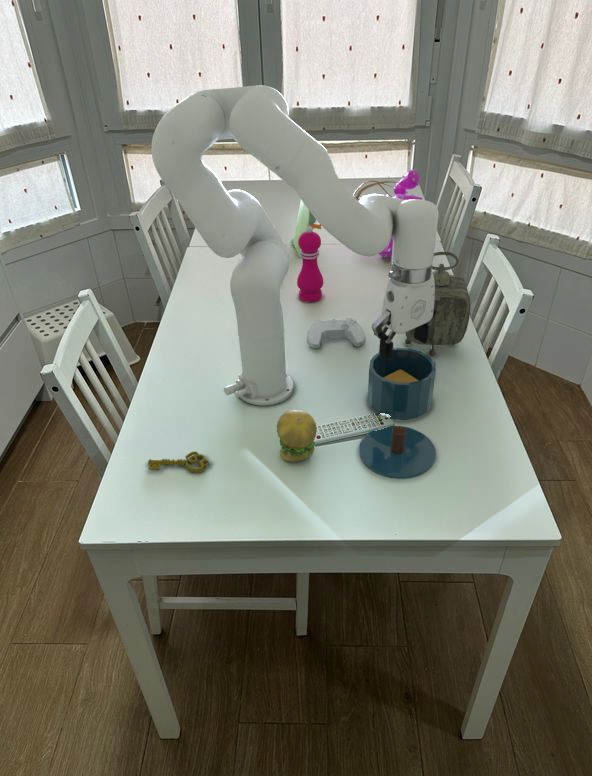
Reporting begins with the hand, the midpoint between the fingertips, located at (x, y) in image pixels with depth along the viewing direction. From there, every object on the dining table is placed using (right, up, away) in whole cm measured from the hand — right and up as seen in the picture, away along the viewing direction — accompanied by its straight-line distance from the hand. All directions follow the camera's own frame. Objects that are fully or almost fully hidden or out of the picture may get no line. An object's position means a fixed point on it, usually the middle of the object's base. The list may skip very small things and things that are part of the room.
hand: (403, 348), depth 127 cm
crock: (0, -10, +9) cm, 14 cm away
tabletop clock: (+10, +2, +24) cm, 26 cm away
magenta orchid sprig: (-4, +40, +70) cm, 81 cm away
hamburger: (-21, -22, -4) cm, 31 cm away
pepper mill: (-18, +20, +46) cm, 54 cm away
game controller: (-12, +5, +29) cm, 32 cm away
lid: (-2, -21, -5) cm, 21 cm away
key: (-44, -23, -5) cm, 50 cm away
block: (0, -10, +8) cm, 13 cm away
